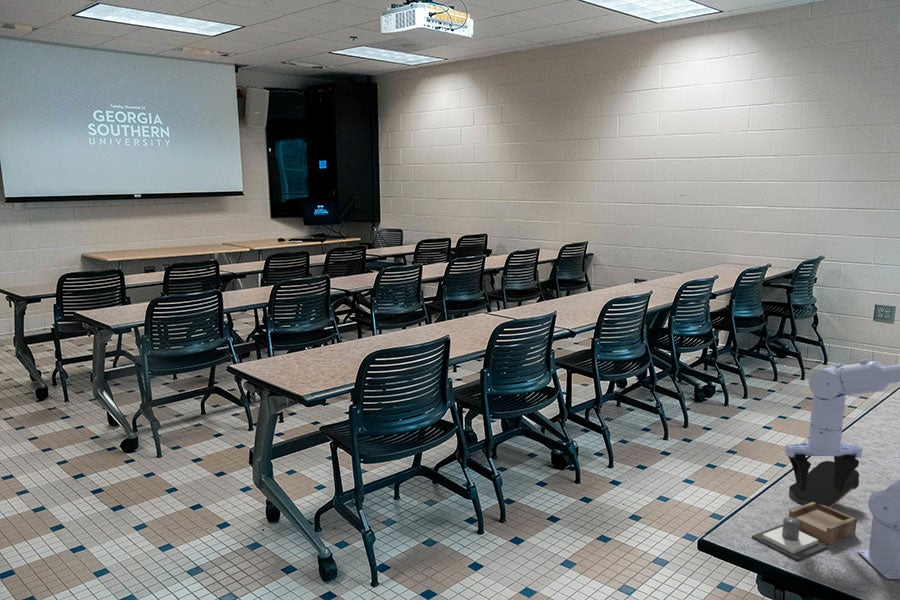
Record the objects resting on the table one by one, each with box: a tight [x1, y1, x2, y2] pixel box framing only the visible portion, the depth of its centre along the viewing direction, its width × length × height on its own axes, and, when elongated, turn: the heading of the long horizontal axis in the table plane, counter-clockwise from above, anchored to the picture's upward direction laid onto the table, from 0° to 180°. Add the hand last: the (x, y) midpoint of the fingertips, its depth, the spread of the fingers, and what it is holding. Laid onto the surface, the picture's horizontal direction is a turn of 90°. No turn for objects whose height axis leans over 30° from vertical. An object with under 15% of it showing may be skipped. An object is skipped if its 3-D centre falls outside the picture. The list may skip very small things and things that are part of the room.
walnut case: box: [788, 502, 858, 546], centre depth 143 cm, size 9×9×4 cm
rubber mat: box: [751, 523, 830, 562], centre depth 138 cm, size 10×10×1 cm
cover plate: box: [762, 516, 819, 554], centre depth 137 cm, size 8×7×4 cm
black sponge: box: [788, 460, 860, 508], centre depth 153 cm, size 16×8×4 cm, turn 123°
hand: (819, 489), depth 140 cm, fingers open, 7 cm apart
